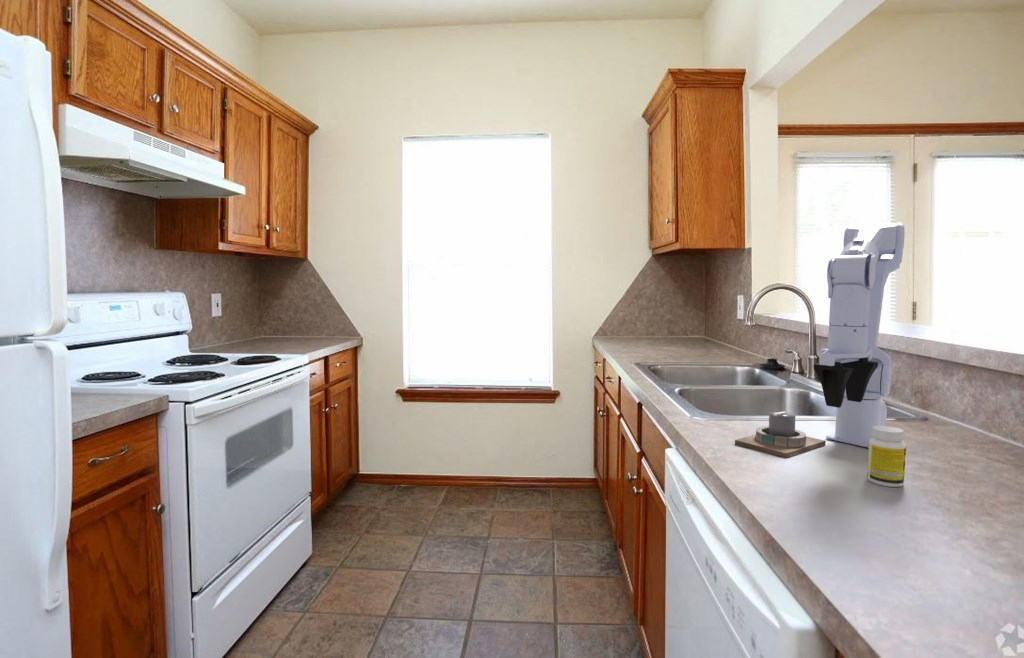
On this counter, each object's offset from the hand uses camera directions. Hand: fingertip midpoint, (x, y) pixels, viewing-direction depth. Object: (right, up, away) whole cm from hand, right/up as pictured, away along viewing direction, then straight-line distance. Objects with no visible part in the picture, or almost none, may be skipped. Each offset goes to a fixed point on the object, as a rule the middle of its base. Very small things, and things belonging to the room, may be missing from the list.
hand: (844, 403), depth 93 cm
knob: (-6, -8, +10) cm, 14 cm away
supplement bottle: (0, -11, -10) cm, 15 cm away
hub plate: (-6, -9, +10) cm, 15 cm away
